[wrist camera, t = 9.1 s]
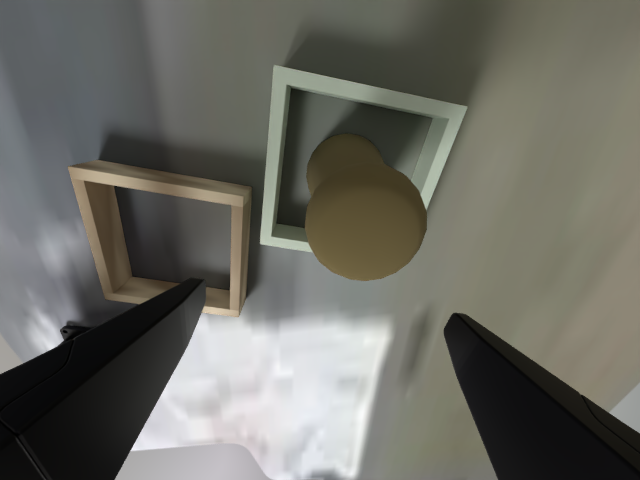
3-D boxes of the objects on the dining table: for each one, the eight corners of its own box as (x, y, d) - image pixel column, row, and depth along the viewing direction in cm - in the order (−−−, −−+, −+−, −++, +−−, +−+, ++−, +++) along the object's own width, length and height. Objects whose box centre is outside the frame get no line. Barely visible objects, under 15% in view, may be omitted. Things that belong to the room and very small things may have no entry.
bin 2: (266, 230, 21) (259, 244, 19) (280, 71, 16) (273, 65, 14) (395, 251, 22) (403, 266, 20) (448, 107, 17) (467, 106, 15)
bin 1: (125, 282, 24) (105, 299, 22) (97, 159, 19) (67, 166, 16) (245, 299, 25) (238, 317, 23) (252, 186, 20) (243, 196, 17)
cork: (304, 134, 18) (284, 162, 8) (388, 132, 18) (470, 157, 8) (308, 213, 21) (296, 304, 11) (381, 211, 21) (435, 301, 11)
